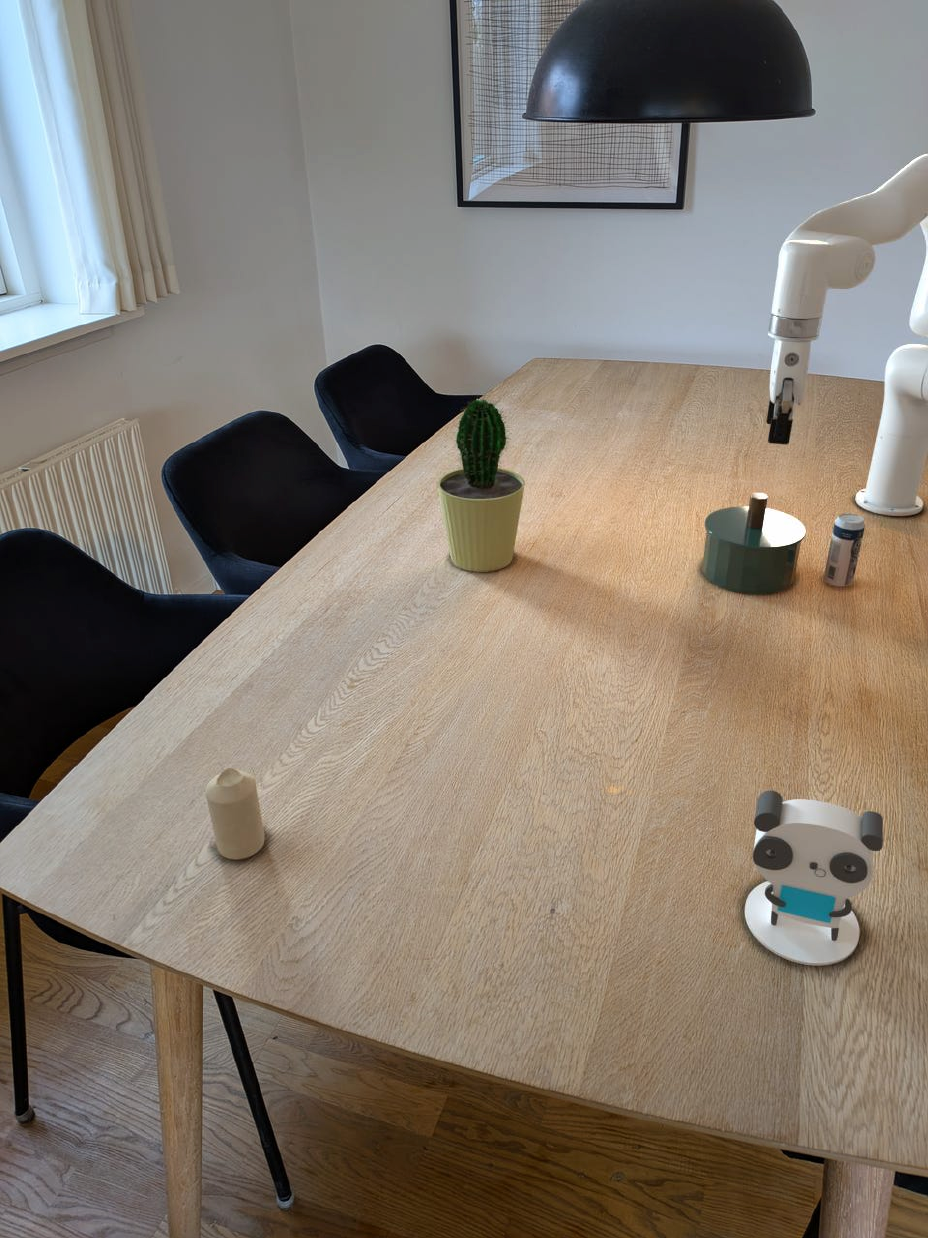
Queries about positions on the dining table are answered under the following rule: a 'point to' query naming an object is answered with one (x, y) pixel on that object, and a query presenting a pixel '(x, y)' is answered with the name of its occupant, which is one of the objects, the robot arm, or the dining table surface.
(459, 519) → the potted cactus
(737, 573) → the pot
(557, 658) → the dining table surface
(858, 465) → the dining table surface
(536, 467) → the dining table surface
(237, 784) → the candle
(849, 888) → the panda figurine
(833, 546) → the beer can
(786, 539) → the lid
